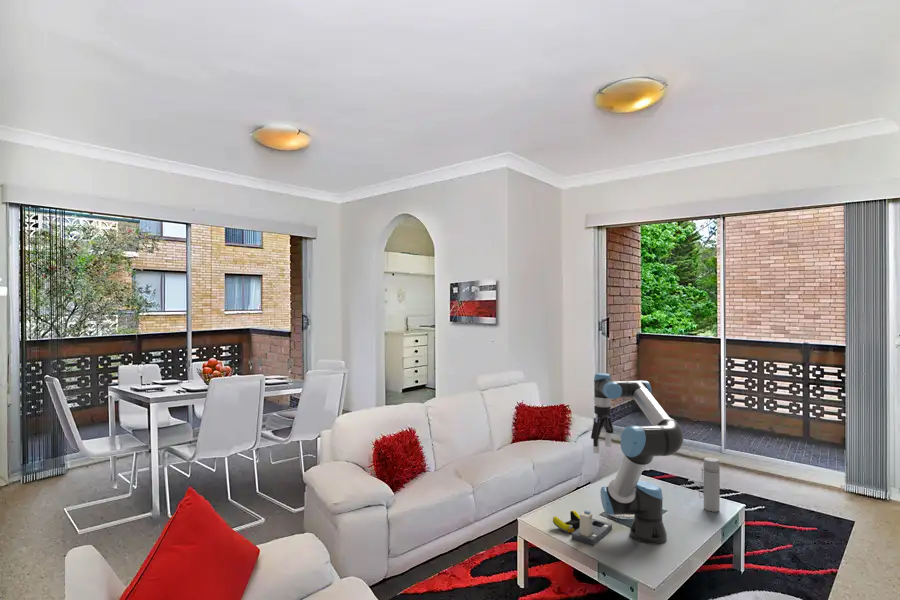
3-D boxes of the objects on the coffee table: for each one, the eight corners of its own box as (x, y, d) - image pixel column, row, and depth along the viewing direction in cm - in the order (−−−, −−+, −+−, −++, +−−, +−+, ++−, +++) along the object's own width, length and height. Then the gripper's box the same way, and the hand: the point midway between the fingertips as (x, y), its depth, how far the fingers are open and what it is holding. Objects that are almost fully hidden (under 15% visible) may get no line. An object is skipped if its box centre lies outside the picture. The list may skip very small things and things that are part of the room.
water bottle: (720, 508, 262) (720, 458, 262) (718, 513, 256) (719, 462, 256) (700, 504, 267) (700, 455, 267) (698, 509, 261) (698, 459, 260)
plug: (592, 538, 231) (592, 512, 230) (588, 542, 227) (588, 515, 227) (583, 536, 233) (583, 509, 233) (579, 539, 230) (579, 512, 230)
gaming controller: (550, 528, 241) (566, 536, 233) (550, 516, 241) (566, 524, 233) (573, 520, 250) (589, 528, 241) (573, 508, 250) (589, 516, 241)
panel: (612, 529, 239) (612, 523, 239) (592, 545, 224) (592, 539, 224) (591, 523, 246) (591, 517, 246) (571, 538, 230) (571, 532, 230)
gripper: (605, 400, 264) (605, 442, 264) (583, 408, 245) (583, 454, 245) (620, 402, 259) (620, 445, 259) (598, 411, 240) (598, 457, 240)
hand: (602, 449), depth 252 cm, fingers open, 13 cm apart
